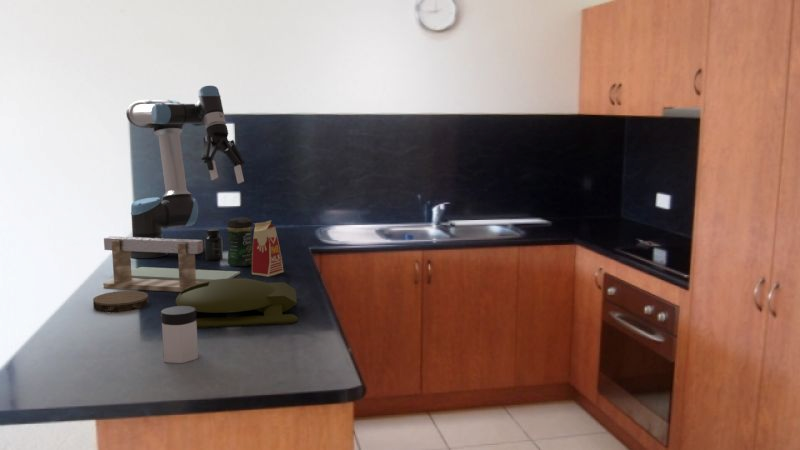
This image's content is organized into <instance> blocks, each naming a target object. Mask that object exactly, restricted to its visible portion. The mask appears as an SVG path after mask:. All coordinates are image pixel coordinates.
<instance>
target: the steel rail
mask: <svg viewBox="0 0 800 450" xmlns="http://www.w3.org/2000/svg"><path fill="white" fill-rule="evenodd" d="M112 241H120V251H139V252H163V253H168V254H178V243H186V254H195V255H198V254H201V253H203V252H204V242H203V239H189V238H188V239H187V238H185V239H184V238H182V239H181V238H164V237H163V238H138V237H133V236H132V237H131V236H112V235H111V236H107V237H104V238H103V246H104V251H112Z"/></svg>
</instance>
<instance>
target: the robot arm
mask: <svg viewBox="0 0 800 450" xmlns="http://www.w3.org/2000/svg"><path fill="white" fill-rule="evenodd" d="M197 92H198V100H197V102H196V103H181V102H179V101H177V100H173V99H172V100H170V99H151V100H150V99H142V100H141V99H140V100H137V101H136V100H135V101H134V102H132V103H131V104H130V105H128V107H127V109H126V118H127V120H128V121H129V123H130V124H132V125H133V126H135V127H138V128H143V129H153V134H154V135H156V136H157V137H158V143H159V150H160V151H159V152H160V158H161V166H162V173H163V181H164V189H165V193H164V194H163V195H162V199H161V198H160V197H156V196H155V197H146V198H141V199H138V200H135V201H133V202H132V203H131V207H130V208H131V209H130V210H131V211H130V216H131V229H132V230H131V231H132V237H138V238H164V237H163V229H173V228H181V227H182V228H185V227H189V226H193V225H195V223H196V222H197V219H198V216H199V215H198V214H199V205H198V201H197V199H196V198H194V197H192V193H191V192H190V191H188V189H187V182H186V175H185V174H186V173H185V167H184V160H183V159H184V158H183V152H182V146H181V145H182V144H181V143H182V142H181V137H180V135H181V133H183V131H184V130H183V129H184V128H185V127H186V125H187V124H190V125H191V126H192V127H195V128H202V127H204V126H205V127H204V128H205V129H206V130H205V131H206V136H204V137H203V147H202V151H201V157H200V159H201V160H202V161H203V162H204V164H206V166H207V169H208V171H209V175H210V176H209V177H210V180H211V181H215V180H217V179H218V178H219V173H218V169H217V165H216V161H215V160H214V157H215V155H216V154H217V151H218V152H223V154H224V155H226V156H227V157H228V159H229V161H230V162H231V163H232V164H233V165H234V167H233V169H234V170H233V171H234V174H235V178H236V182H237V184H242V183H244V182H245V180H244V175H243V174H244V173H243V168H242V165H245V163H246V162H245V160H244V159H243V156H242V154H241V152H239V151H240V150H239V149H238V147H237V146H236V142H235V140H234V139H232V140H229V139H228V136H229V130H228V125H227V122H226V121H227V120H226V119H225V114H224V108H223V101H222V99H221V94H220V92H219V88H218V87H217V86H214V85H205V86H202V87H200V88H199V89H198V91H197ZM168 254H169V253H163V252H139V251H130V256H131V259H153V258H154V259H155V258H161V257H165V256H167V255H168Z"/></svg>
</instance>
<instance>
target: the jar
mask: <svg viewBox="0 0 800 450" xmlns="http://www.w3.org/2000/svg"><path fill="white" fill-rule="evenodd" d="M160 319H161V321H160V322H161V333H162V355H163V362H164V363H167V364H168V363H171V364H172V363H173V364H185V363H188V362H191V361H195V360H198V359H199V350H198V346H199V345H198V328H197V322H196V319H197V311H196V309H195V308H194V307H191V306H177V305H176V306H170V307H167V308H163V309H162V310H161V311H160Z"/></svg>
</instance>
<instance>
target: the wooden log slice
mask: <svg viewBox="0 0 800 450" xmlns="http://www.w3.org/2000/svg"><path fill="white" fill-rule="evenodd" d="M92 302H93V305H92V306H93V310H95V311H97V312H100V313H101V312H102V313H108V312H110V313H112V312H115V313H124V312H133V311H137V310H140V309H143V308H145V307H147V306H148V305H149V303H150V302H149V294H148V293H147V292H145V291H140V290H139V291H138V290H122V291H121V290H120V291H119V290H118V291H111V292H106V293H102V294H99V295H97V296H95V297H93V298H92Z"/></svg>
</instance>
